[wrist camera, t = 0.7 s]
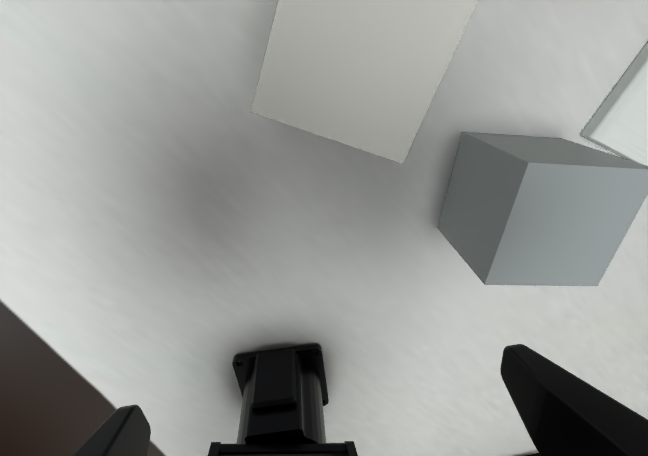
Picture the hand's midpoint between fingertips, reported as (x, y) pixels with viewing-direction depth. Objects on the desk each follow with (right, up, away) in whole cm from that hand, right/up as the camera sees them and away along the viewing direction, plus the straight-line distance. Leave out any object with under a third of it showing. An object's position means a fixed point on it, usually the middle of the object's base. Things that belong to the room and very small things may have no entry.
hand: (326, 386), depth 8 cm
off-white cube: (+1, +13, +8) cm, 15 cm away
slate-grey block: (+10, +7, +12) cm, 17 cm away
